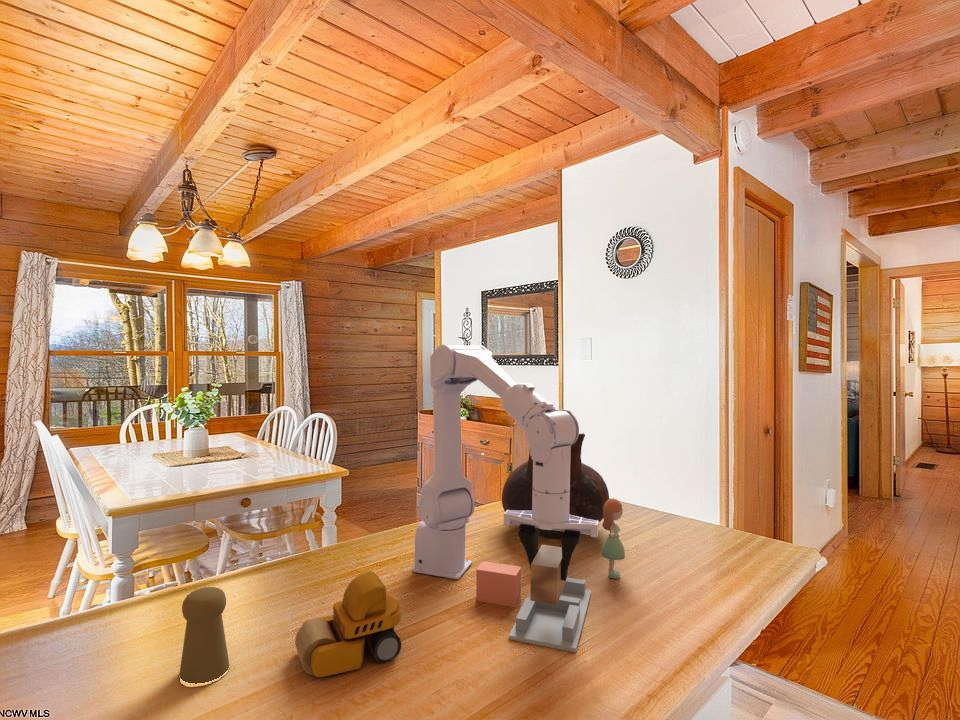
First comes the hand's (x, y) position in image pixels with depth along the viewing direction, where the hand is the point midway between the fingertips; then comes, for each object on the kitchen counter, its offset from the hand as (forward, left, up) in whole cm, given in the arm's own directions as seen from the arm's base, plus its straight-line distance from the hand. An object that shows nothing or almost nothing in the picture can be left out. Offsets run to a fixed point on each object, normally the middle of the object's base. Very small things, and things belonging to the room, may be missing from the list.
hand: (549, 575), depth 82 cm
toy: (+8, +23, -9) cm, 25 cm away
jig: (0, +5, -8) cm, 10 cm away
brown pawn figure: (-41, -26, -9) cm, 50 cm away
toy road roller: (-25, -16, -9) cm, 31 cm away
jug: (-7, +43, -9) cm, 44 cm away
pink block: (-10, +7, -8) cm, 15 cm away
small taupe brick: (0, 0, -2) cm, 2 cm away
